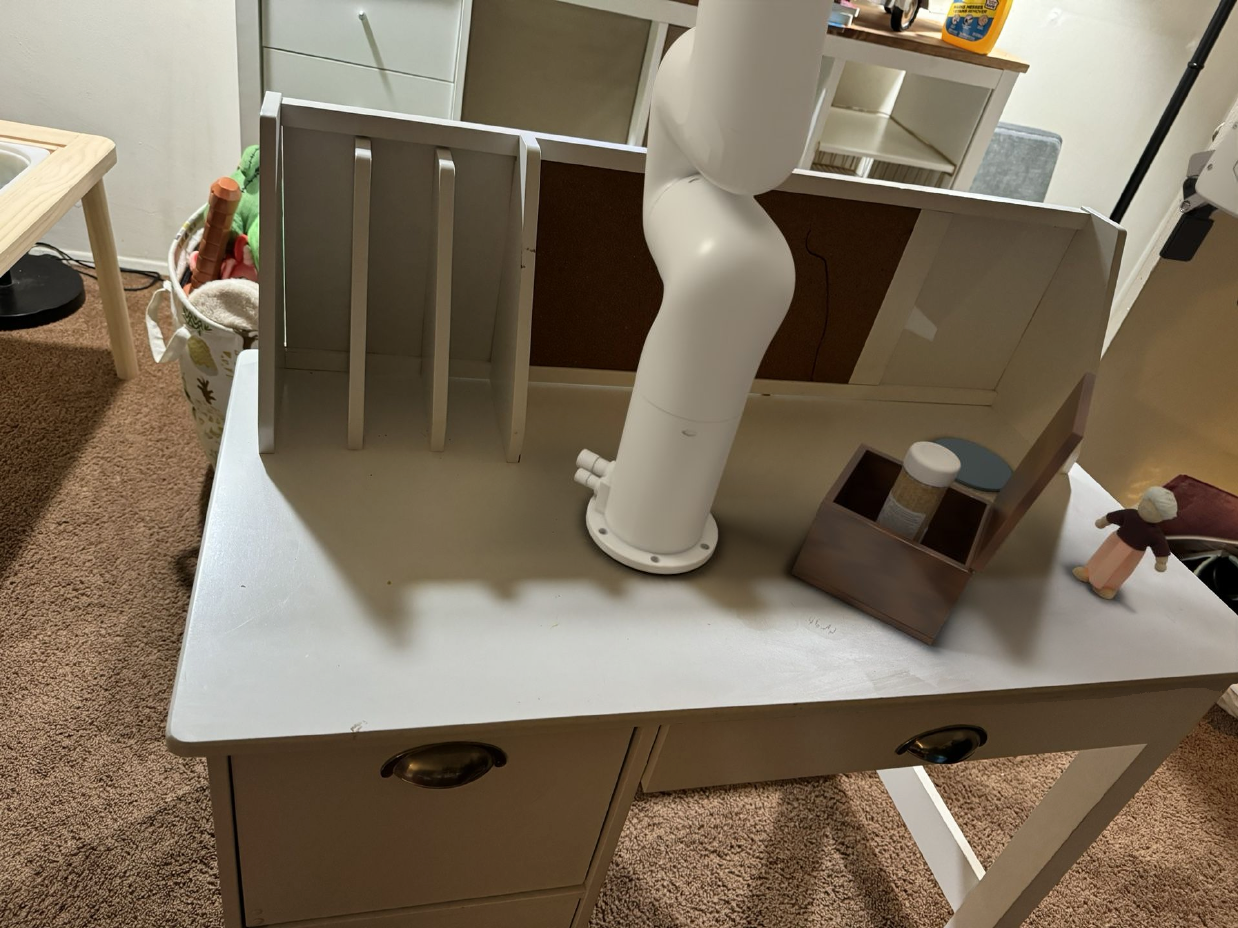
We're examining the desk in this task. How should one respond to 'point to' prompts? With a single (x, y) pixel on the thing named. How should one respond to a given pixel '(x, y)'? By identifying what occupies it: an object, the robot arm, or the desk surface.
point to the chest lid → (1036, 470)
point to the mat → (977, 465)
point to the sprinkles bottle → (919, 489)
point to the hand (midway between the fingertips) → (1210, 282)
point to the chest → (891, 548)
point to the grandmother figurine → (1130, 542)
